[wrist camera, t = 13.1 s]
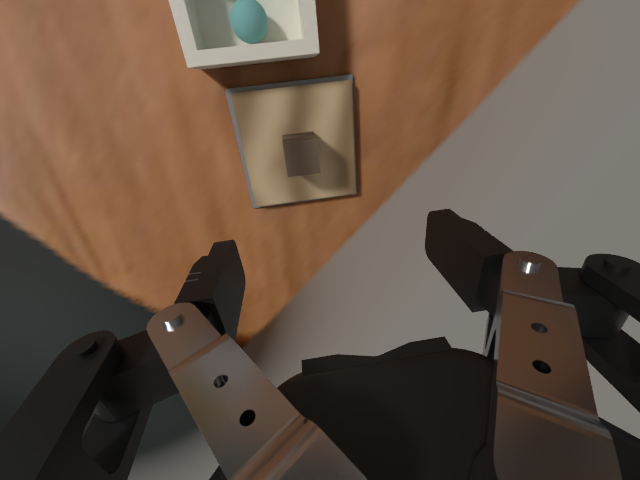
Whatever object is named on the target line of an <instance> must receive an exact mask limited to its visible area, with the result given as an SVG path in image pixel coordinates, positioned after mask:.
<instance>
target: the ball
mask: <svg viewBox="0 0 640 480" xmlns="http://www.w3.org/2000/svg"><path fill="white" fill-rule="evenodd" d="M230 23H231V26H232V29H233V31H234V33H235V34H236V35H237V37H238V38H239V39H241V40H242V41H244V42H246V43H251V44H253V43H257V42H259V41H261V40H262V39H263V38H264V36H265V34H266V32H267V28H268V19H267V15H266V12H265V10H264V8H263V7H262V6H261V4H260V3H259V2H258V1H256V0H237V1H236V2H235V3H234V4H233V6H232V8H231V12H230Z"/></svg>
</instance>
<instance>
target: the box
mask: <svg viewBox="0 0 640 480" xmlns="http://www.w3.org/2000/svg"><path fill="white" fill-rule="evenodd" d="M236 1H237V0H169V3H170V7H171V10H172V14H173V17H174V21H175V24H176V28H177V31H178V35H179V39H180V42H181V46H182V49H183V53H184V56H185V60H186V63H187V67H188V68H193V69H200V70H204V69H213V68H222V67H231V66H240V65H249V64H258V63H267V62H276V61H285V60H294V59H303V58H312V57H315V56H316V55H318V54H319V53H320V52H319V40H318V28H317V16H316V5H315V0H256V1H258V2H259V3H260V4H261V6H262V7H263V8H264V10H265V12H266V15H267V19H268V28H267V32H266V34H265V36H264V38H263V39H262V40H261V41H259V42H257V43H253V44H251V43H246V42H244V41H242V40H241V39H239V38H238V37H237V35H236V34H235V33H234V31H233V29H232V26H231V23H230V12H231V8H232V6H233V4H234V3H235V2H236Z"/></svg>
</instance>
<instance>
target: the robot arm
mask: <svg viewBox="0 0 640 480" xmlns="http://www.w3.org/2000/svg"><path fill="white" fill-rule="evenodd" d="M425 250H426V254H427V256H428V258H429V260H430V261H431V262H432V263H433V265H434V266H435V267H436V268H437V269H438V271H439V272H440V273H441V274H442V276H443V277H444V278H445V279H446V280H447V282H448V283H449V284H450V285H451V287H452V288H453V289H454V290H455V292H456V293H457V294H458V295H459V296H460V298H461V299H462V300H463V301H464V302H465V304H466V305H467V306H468V307H469V309H470V310H471V311H472V312H477V311H483V310H487V311H488V312H489V315H488V320H487V325H486V333H485V341H484V348H483V355H482V354H479V353H475V352H472V351H468V350H464V349H458V348H451V346H450V345H449V343H448V341H447V340H446V338H445V337H439V338H433V339H427V340H421V341H415V342H410V343H407V344H405V345H403V346H400V347H398V348H396V349H393V350H391V351H389V352H386V353H384V354H382V355H379V356H357V355H339V354H337V355H331V356H325V357H319V358H313V359H306V360H302V373H300V374H297V375H295V376H293V377H292V378H290V379H288V380H287V381H285V382H284V383H283V384H281V385H280V386H279V387H278V388H276V387H275V385H273V383H272V382H271V381H270V380H269V379H268V378H267V377H266V376H265V375H264V373H263V372H262V371H261V370H260V369H259V368H258V367H257V366H256V365H255V364H254V362H253V361H252V360H251V359H250V358H249V357H248V356H247V355H246V354H245V352H244V351H243V350H242V349H241V348H240V347H239V346H238V345H237V344H236V343H235V338H236V333H237V327H238V322H239V317H240V311H241V306H242V301H243V296H244V290H245V274H244V270H243V266H242V263H241V260H240V256H239V253H238V249H237V246H236V243H235V241H234V240H228V241H221V242H215V243H214V244H213V246H212V248H211V250H210V253H209V255H208V256H202V257H201V258H200V259H199V260H198V261H197V262H196V263H195V264H194V265H193V267H192V269H191V271H190V273H189V275H188V277H187V279H186V282H185V283H184V285H183V287H182V289H181V291H180V293H179V295H178V297H177V299H176V301H175V303H174V305H171V306H168V307H166V308H164V309H163V310H161V311H160V312H158V313H157V314H156V315H154V316H153V318H152V319H151V320H150V321H149V323H148V325H147V330H145V331H142V332H140V333H137V334H134V335H132V336H129V337H126V338H124V339H121V340H118V339H117V338H116V336H115V335H114V334H113V333H112V332H111V331H106V330H103V331H97V332H93V333H90V334H88V335H86V336H83V337H82V338H80V339H78V340H76V341H74V342H73V343H71V344H70V345H69V346H67V347H66V348H65V349H64V350H63V351H62V352H61V353H60V354H59V355H58V356H57V358H56V359H55V360H54V362H53V363H52V364H51V366H50V367H49V368H48V370H47V371H46V373H45V374H44V375H43V376H42V378H41V379H40V380H39V382H38V383H37V384H36V386H35V387H34V388H33V390H32V391H31V392H30V393H29V395H28V396H27V397H26V399H25V400H24V401H23V403H22V404H21V405H20V407H19V408H18V409H17V411H16V412H15V413H14V415H13V416H12V417H11V419H10V420H9V421H8V423H7V424H6V425H5V426H4V428H3V429H2V431H1V432H0V480H127V479H128V476H129V473H130V470H131V467H132V464H133V461H134V458H135V456H136V453H137V450H138V447H139V444H140V441H141V438H142V435H143V432H144V430H145V427H146V424H147V421H148V418H149V415H150V412H151V409H152V406H153V404H155V403H157V402H159V401H161V400H163V399H166V398H168V397H170V396H172V395H174V394H177V393H179V392H180V394H181V396H182V398H183V400H184V401H185V403H186V405H187V407H188V409H189V411H190V412H191V414H192V416H193V418H194V420H195V422H196V423H197V425H198V427H199V429H200V430H201V433H202V434H203V436H204V438H205V440H206V442H207V444H208V445H209V447H210V449H211V451H212V453H213V454H214V456H215V458H216V460H217V462H218V464H219V466H218V468H217V469H216V471H215V472H214V473H213V475H212V476H211V478H210V479H209V480H640V439H638V438H637V437H635V436H633V435H631V434H629V433H627V432H626V431H624V430H622V429H620V428H618V427H616V426H615V425H612V424H611V423H609V422H607V421H605V420H604V419H602V418H600V417H598V414H597V409H596V404H595V400H594V395H593V390H592V385H591V380H590V376H589V371H588V366H587V361H589V363H590V364H591V365H592V366H594V368H595V369H596V370H597V371H599V373H600V374H601V375H602V376H604V378H606V379H607V380H608V382H609V383H610V384H612V385H613V386H614V387H615V388H616V389H617V390H618V391H619V392H620V393H621V394H622V395H623V396H624V397H625V398H626V399H627V400H628V401H629V402H630V403H631V404H632V405H633V406H634V407H635V408H636V409H637V410H638V411H639V412H640V344H639V343H638V342H637V341H636V340H634V339H633V338H632V337H630V336H629V335H628V334H627V333H625V332H624V331H623V330H622V329H621V328H622V326H623V324H624V323H625V321H626V319H627V318H628V316H629V315H631V316H632V317H633V318H635V319H636V320H637V321H639V322H640V263H638V262H636V261H633V260H631V259H628V258H625V257H621V256H617V255H611V254H593V255H589V256H588V257H587V258H586V259H585V261H584V264H583V266H582V268H564V267H557V266H556V264H555V263H554V262H553V261H552V260H550V259H549V258H547V257H545V256H542V255H540V254H536V253H533V252H527V251H512V250H511V249H510V248H509V247H507V246H506V245H504V244H503V243H502V242H500V241H499V240H498V239H496V238H495V237H494V236H491V234H489V233H488V232H487V231H484V229H483V228H482V227H480V226H479V225H478V224H476V223H474V222H471V221H469V220H466V219H464V218H461V217H459V216H458V215H457V214H456V213H454V212H453V211H452V210H450V209H444V210H438V211H431V212H429V214H428V217H427V228H426V239H425ZM586 360H587V361H586ZM93 412H94V413H95V414H94V416H93V418H92V420H91V422H90V424H89V426H88V428H87V430H86V432H85V434H84V436H83V432H84V429H85V427H86V425H87V423H88V421H89V419H90V417H91V415H92V413H93ZM82 436H83V438H82Z"/></svg>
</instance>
